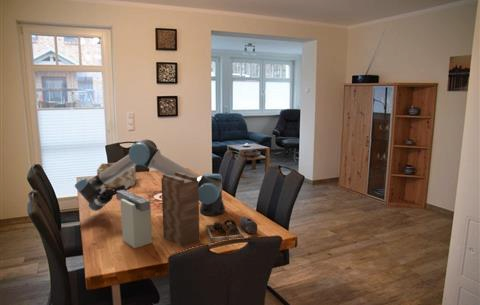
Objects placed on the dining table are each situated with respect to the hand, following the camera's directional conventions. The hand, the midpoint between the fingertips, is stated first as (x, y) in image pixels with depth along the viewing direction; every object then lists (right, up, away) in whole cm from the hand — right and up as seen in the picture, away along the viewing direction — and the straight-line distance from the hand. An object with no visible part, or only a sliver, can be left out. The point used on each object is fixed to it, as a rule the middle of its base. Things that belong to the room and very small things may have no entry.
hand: (117, 184), depth 177 cm
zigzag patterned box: (-35, -8, +101) cm, 107 cm away
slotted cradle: (+13, -26, -9) cm, 31 cm away
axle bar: (+10, -8, -9) cm, 16 cm away
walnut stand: (+33, -26, -6) cm, 43 cm away
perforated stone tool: (+66, -24, +5) cm, 70 cm away
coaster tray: (+54, -25, -2) cm, 59 cm away
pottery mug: (+54, -25, +1) cm, 60 cm away
